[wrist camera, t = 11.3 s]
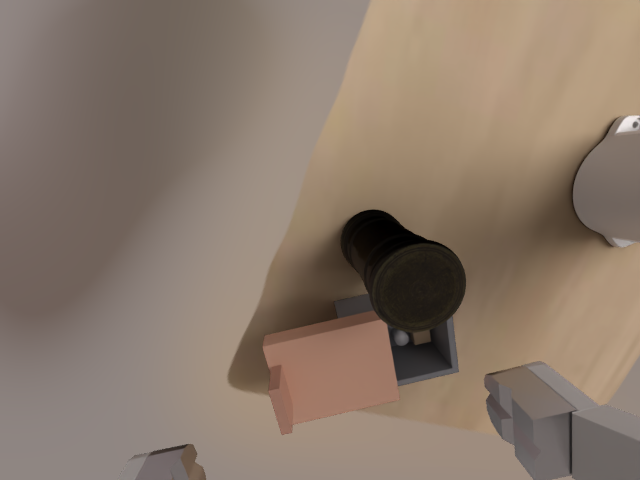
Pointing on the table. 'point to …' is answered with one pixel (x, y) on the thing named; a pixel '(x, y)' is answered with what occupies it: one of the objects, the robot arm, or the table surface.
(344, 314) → the tub
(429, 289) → the container
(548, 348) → the table surface
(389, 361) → the lid
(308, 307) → the table surface
